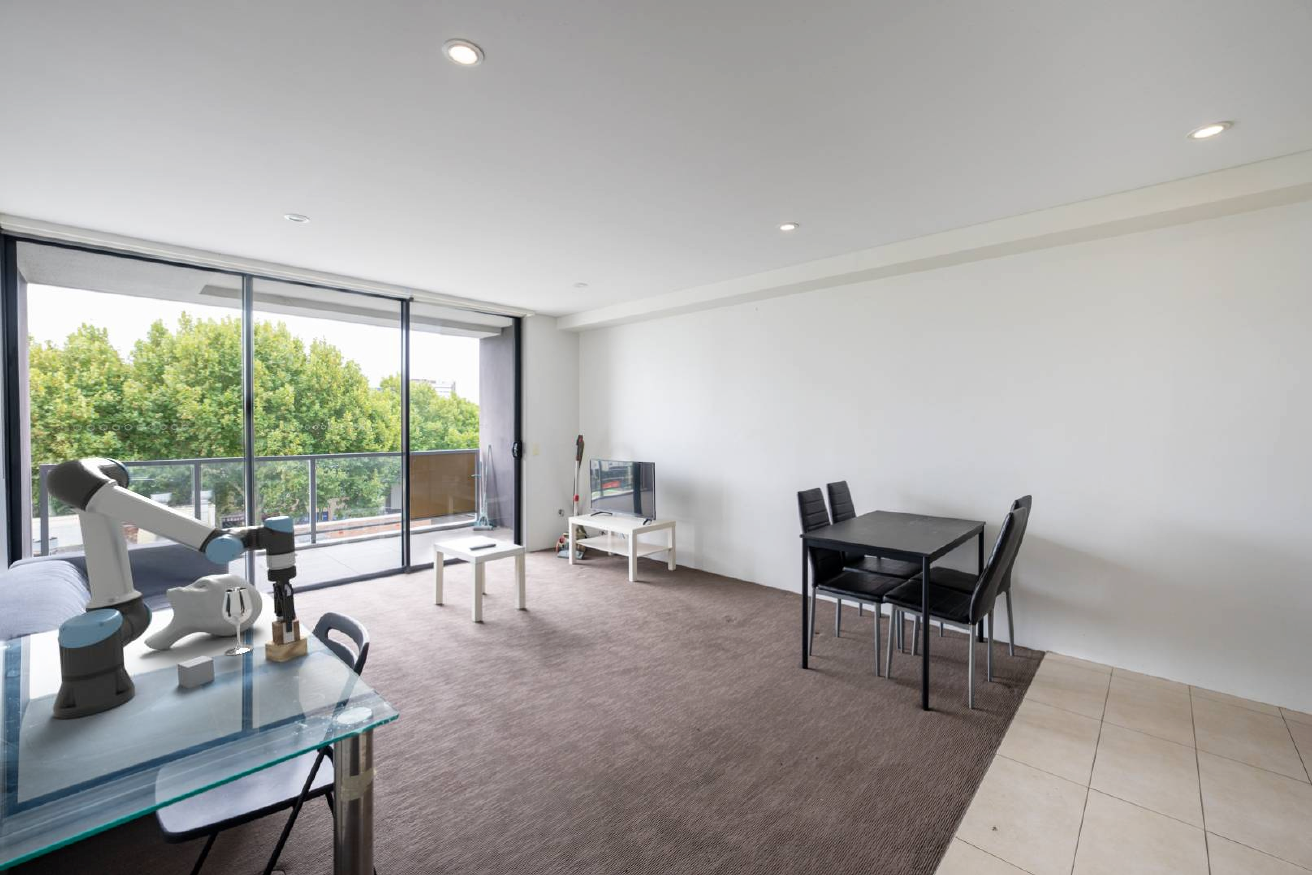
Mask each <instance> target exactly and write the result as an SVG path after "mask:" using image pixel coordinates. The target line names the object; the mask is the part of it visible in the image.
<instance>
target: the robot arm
mask: <svg viewBox="0 0 1312 875" xmlns="http://www.w3.org/2000/svg"><path fill="white" fill-rule="evenodd" d="M44 482H45V483H44V485H45V489H46V491H47V492H48V494H49V495H50V496H51V497H52V498H54V500H57V501H58V502H61V503H62V504H65V505H67V506H68V507H69V510H70V511H72V512H73V513H76V514H77V515H78V520H79V526H80V533H81V538H82V539H81V540H82V544H83V551H84V557H85V564H86V570H87V576H88V582H89V587H90V594H91V599H90V600H89V602H87V604H85V606H84V608H85V612H83V613H81V614H79V615H75V616H72V617H71V618H69V619H67V620H66V621H64V622H63V623H62V624H61V625H60V626H59V627H58V637H57V643H58V649H59V650H58V651H59V660H60V661H59V663H60V674H61V675H60V676H61V684H60V686H59V690H58V693H57V695H56V697H55V701H54V703H53V707H52V711H53V713H52V714H53V717H54V718H55V719H60V720H63V719H67V720H68V719H69V720H70V719H77V718H83V717H86V716H91V715H95V714H97V713H98V714H99V713H101V712H104V711H108V710H110V709H112V708H115V707H118V706H121V705H122V704H124V703H127V702H128V701H129V700H131V699H132V698H133V697H134V696H135V695H136V686H135V684H134V681H133V680H132V678H131V676H130V674H129V672H128V671H127V670H126V667H125V653H124V649H125V647H127V646H128V645H129V644H131V643H132V642H134V641H136V640H138V639H139V638H140V637H141V636H142V635H143V634H144V633H145V632H146V631H147V629H149V627H150V625H151V623H152V620H153V611H152V609H151V607H150V606H149V604H148V603H145V601H143V600H144V599H143V594H142V592H140V591H138V590H136V589H135V588H134V583H133V582H134V581H133V576H132V570H131V563H130V557H129V551H128V550H129V549H128V545H127V538H126V531H125V525H124V523H126V524H128V525H131V526H132V527H135V528H139V529H141V530H143V531H146V532H148V533H151V534H153V535H156V536H158V537H161V538H163V539H166V540H169V541H170V542H174V543H176V544H178V545H181V546H184V547H186V548H188V549H191V550H193V551H196V552H199V553H201V554H203V555H205V556H206V558H207V559H208V560H209V561H210V562H212V563H215V564H217V565H219V564H220V565H224V564H228V563H230V562H234V561H235V560H237V559H238V558H239V557H241V556H242V555H243V554H245V553H246V552H253V551H262V550H265V552H266V555H265V557H266V558H265V559H266V567H267V568H268V569H267V570H266V571H267V574H266V575H267V581H268V582H271V583H272V588H273V589H272V591H273V604H274V606H273V608H274V609H273V610H274V611H273V613H274V614H275V616H276V621H278V620H282V619H283V621H281V624H283V641H284V644H285V643H289V642H292V641H294V625H293V620H295V618H296V613H295V612H296V611H295V610H296V609H295V598H294V594H295V593H294V592H295V591H294V590H295V589H294V588H293V584H292V583H290V580H291V579H295V578H296V577H297V565H295V564H296V562H297V561H296V560H297V559H296V557H297V556H298V553H297V552H296V544H295V542H296V540H295V528H294V520H293V518H292V517H291V516H283V515H281V516H275V517H274V516H273V517H269V518H266V519H265V520H264V523H263V524H261V525H252V526H241V527H240V526H239V527H229V528H220V527H217V526H215V525H212V524H210V523H208V522H205V521H203V520H200V519H198V518H196V517H193V516H191V515H188V514H187V513H183V512H181V511H179V510H176V509H174V508H171V507H169V506H167V505H165V504H162V503H160V502H157V501H155V500H153V499H150V498H148V497H145V496H143V495H141V494H138V493H136V492H134V491H131V490H129V489H128V488H129V486H130V485H131V482H132V474H131V472H130V470H129V468H128V467H127V466H126V465H125V464H124V463H122V462H121V461H119V460H117V459H113V458H111V457H110V458H108V457H102V456H99V457H90V458H88V457H87V458H77V459H75V458H74V459H70V460H69V459H68V460H65V461H62V462H60V463H58V464H56V465H55V466H53V467H52V468H51V469H50V470H49V471H48V473H47V475H46V477H45V480H44Z"/></svg>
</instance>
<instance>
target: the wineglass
mask: <svg viewBox="0 0 1312 875" xmlns="http://www.w3.org/2000/svg"><path fill="white" fill-rule="evenodd" d="M251 613H252V605H251V600H250V597H249V594H248V591H247V588H246V587H237V588H232V589H228V590H226V591H225V595H224V599H223V605H222V618H223V620H224V621H225V622H227V623H229V624H231V625H235V626H236V629H237V634H236V636H237V637H236V638H237V645H236V646H234V647H232V648H229V649H227V650H226V651H225V652H224V655H226V656H236V655H241V654H245V653H248V652H250V651H252V650H253V649H254V645H251V644H246V645H243V644H242V643H241V633H240V624H242V623H243V622H245V621H246V620H247V619H248V618H249V617H250V615H251Z"/></svg>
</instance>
